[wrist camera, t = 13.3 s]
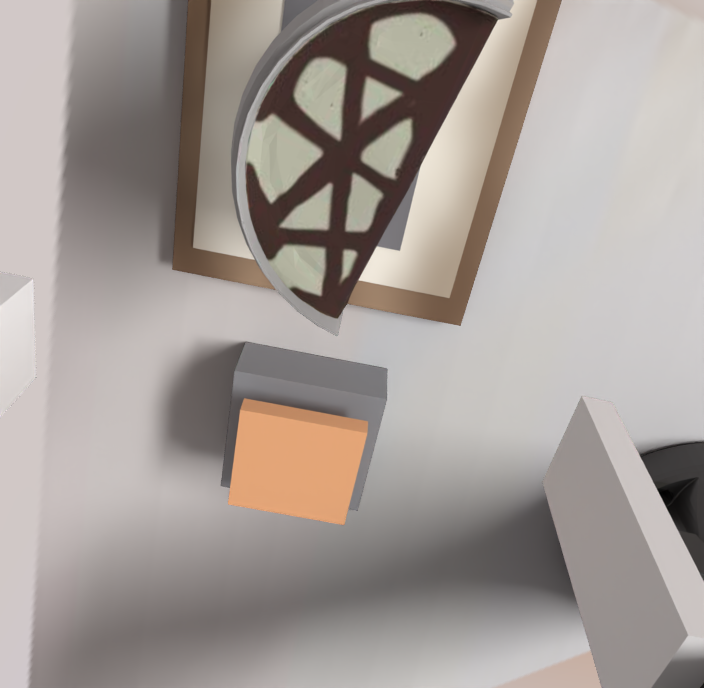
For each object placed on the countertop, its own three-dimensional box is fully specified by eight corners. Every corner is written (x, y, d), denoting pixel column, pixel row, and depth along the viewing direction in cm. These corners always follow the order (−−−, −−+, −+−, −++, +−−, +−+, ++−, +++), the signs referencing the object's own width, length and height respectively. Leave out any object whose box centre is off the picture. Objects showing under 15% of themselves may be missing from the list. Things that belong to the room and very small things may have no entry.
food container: (340, -96, 25) (314, -126, 17) (480, -16, 26) (524, -6, 18) (229, 188, 31) (166, 275, 22) (347, 244, 32) (330, 348, 24)
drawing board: (598, -139, 25) (608, -144, 24) (458, 316, 35) (460, 328, 34) (208, -229, 25) (199, -238, 24) (177, 262, 35) (170, 272, 33)
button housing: (387, 368, 37) (387, 399, 35) (359, 476, 41) (357, 510, 39) (245, 341, 37) (234, 370, 34) (231, 452, 41) (220, 486, 38)
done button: (369, 393, 36) (367, 433, 33) (347, 481, 39) (344, 525, 36) (253, 371, 36) (240, 409, 33) (240, 462, 39) (228, 504, 36)
